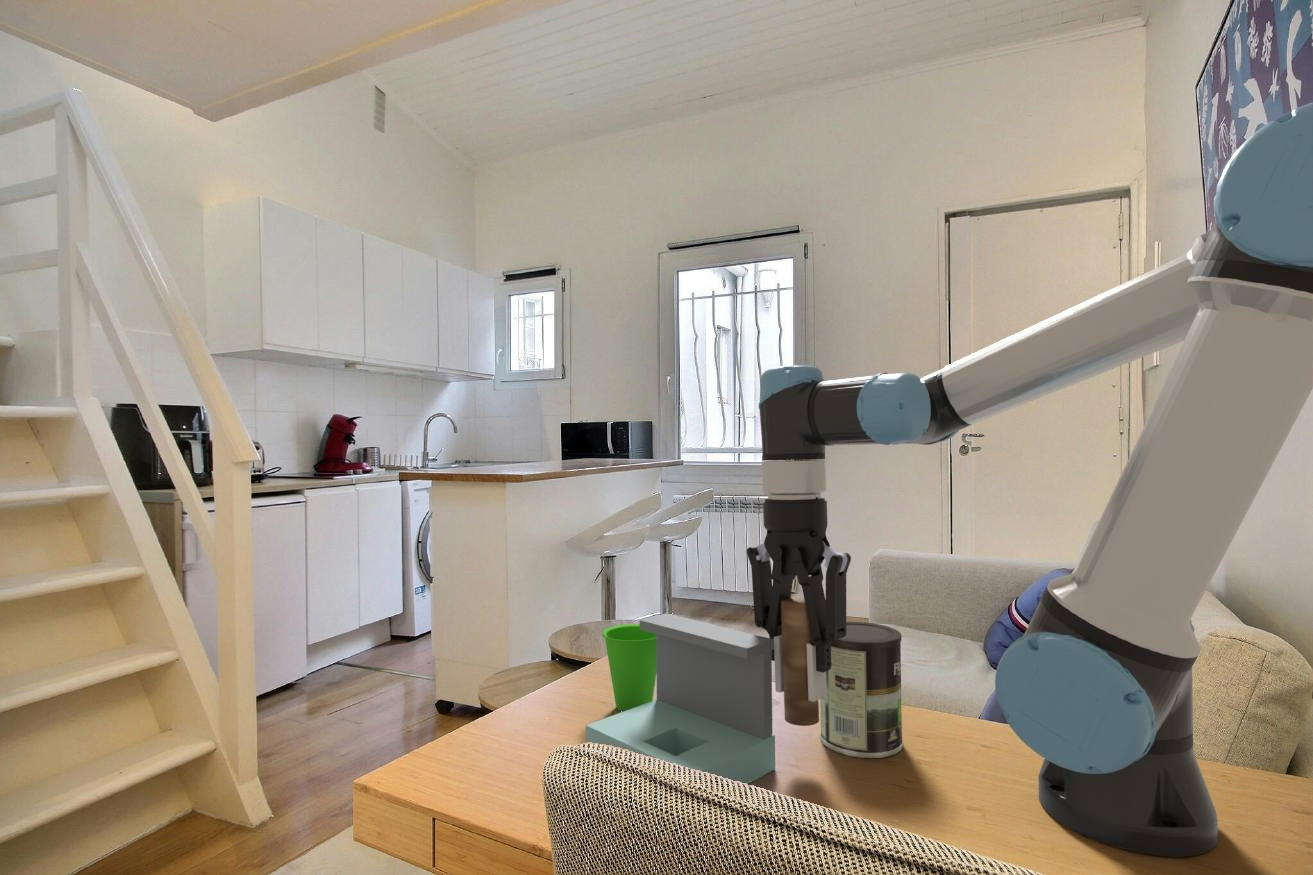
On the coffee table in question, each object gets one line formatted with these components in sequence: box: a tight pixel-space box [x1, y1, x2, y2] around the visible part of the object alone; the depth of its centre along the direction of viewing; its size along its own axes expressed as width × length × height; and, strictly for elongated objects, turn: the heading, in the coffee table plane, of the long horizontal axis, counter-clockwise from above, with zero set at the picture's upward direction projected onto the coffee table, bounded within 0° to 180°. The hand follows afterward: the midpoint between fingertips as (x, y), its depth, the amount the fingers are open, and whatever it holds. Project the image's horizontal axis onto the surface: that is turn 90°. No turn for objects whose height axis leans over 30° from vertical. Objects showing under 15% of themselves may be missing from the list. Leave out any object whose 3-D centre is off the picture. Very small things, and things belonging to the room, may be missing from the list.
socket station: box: [585, 613, 776, 785], centre depth 83 cm, size 18×14×15 cm
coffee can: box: [819, 621, 904, 759], centre depth 89 cm, size 10×10×14 cm
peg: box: [781, 596, 820, 727], centre depth 83 cm, size 4×4×14 cm
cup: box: [601, 623, 657, 712], centre depth 101 cm, size 9×9×11 cm
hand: (801, 693), depth 83 cm, fingers closed on peg, 4 cm apart
